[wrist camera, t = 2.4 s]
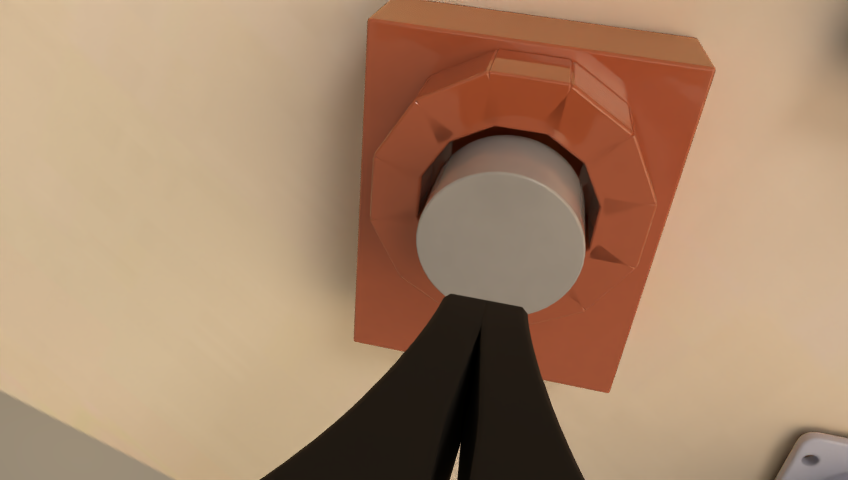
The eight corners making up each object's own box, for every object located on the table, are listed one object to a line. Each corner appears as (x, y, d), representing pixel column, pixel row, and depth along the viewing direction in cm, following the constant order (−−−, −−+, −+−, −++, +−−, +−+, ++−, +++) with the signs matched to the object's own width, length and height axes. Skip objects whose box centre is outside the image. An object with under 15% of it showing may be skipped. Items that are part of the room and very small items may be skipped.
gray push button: (567, 280, 17) (566, 331, 15) (425, 254, 17) (408, 301, 15) (601, 147, 15) (604, 189, 13) (440, 122, 15) (423, 158, 13)
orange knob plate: (606, 337, 22) (611, 440, 18) (375, 292, 23) (335, 381, 19) (698, 37, 17) (733, 94, 13) (393, -5, 18) (343, 37, 14)
